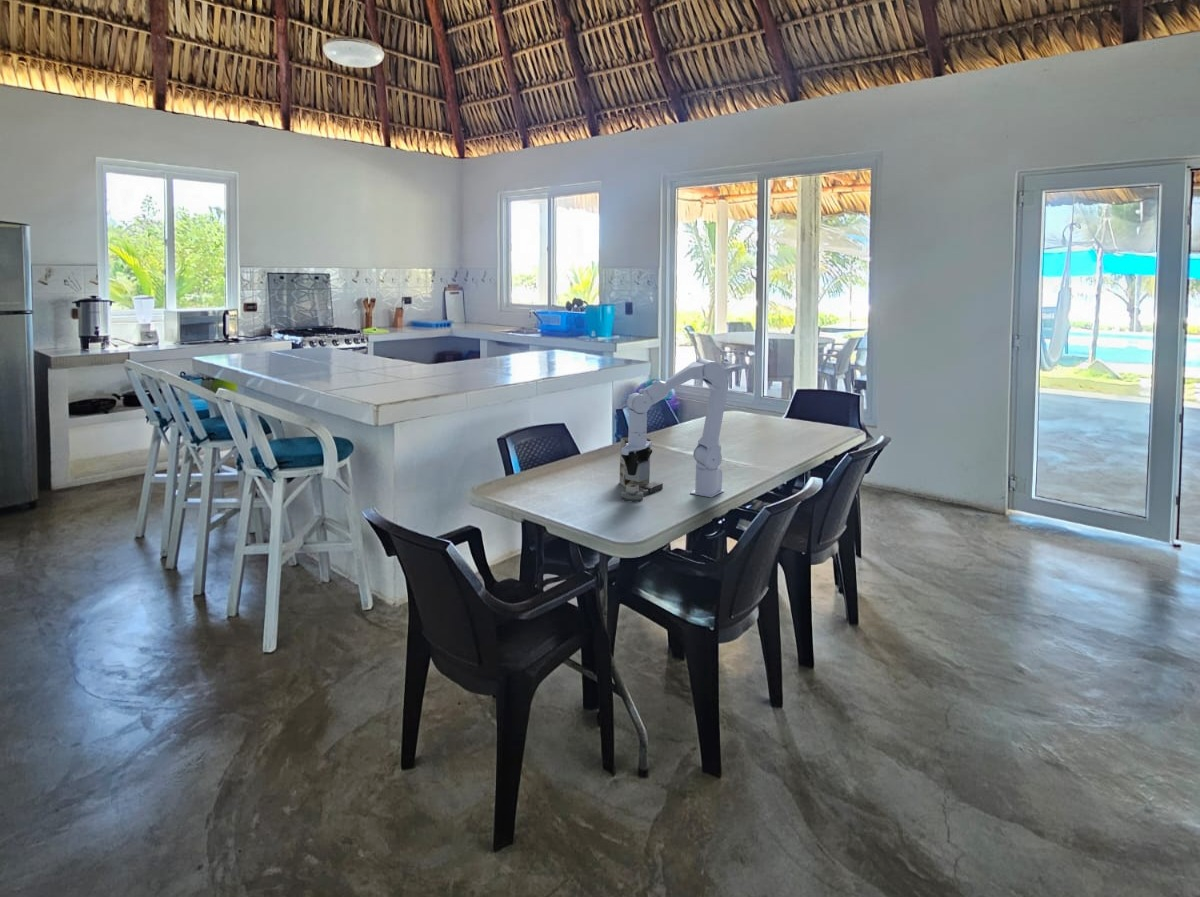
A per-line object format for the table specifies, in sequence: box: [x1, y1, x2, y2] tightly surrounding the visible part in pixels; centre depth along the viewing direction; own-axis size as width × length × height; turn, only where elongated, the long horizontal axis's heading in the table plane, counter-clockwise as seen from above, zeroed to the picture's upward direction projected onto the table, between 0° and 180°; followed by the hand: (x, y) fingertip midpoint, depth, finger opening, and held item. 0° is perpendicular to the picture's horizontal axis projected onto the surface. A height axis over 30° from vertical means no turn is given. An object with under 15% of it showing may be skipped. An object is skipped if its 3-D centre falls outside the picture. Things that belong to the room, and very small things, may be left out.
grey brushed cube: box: [625, 458, 649, 482], centre depth 249 cm, size 5×5×6 cm
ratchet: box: [620, 481, 664, 503], centre depth 256 cm, size 20×7×4 cm, turn 144°
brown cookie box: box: [619, 436, 652, 488], centre depth 266 cm, size 9×6×16 cm
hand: (636, 473), depth 249 cm, fingers closed on grey brushed cube, 5 cm apart
